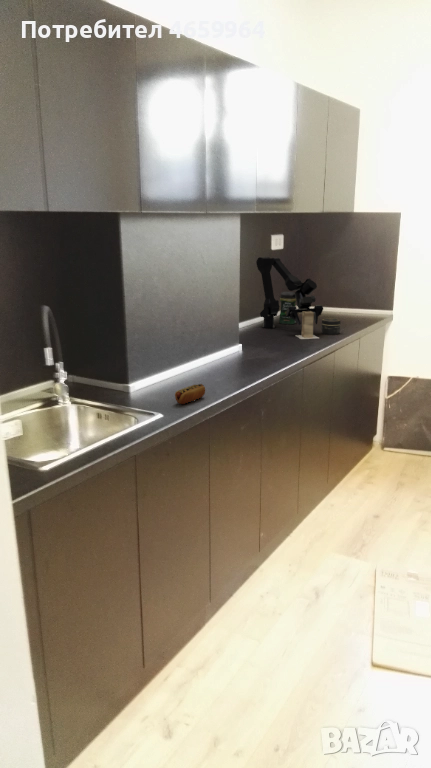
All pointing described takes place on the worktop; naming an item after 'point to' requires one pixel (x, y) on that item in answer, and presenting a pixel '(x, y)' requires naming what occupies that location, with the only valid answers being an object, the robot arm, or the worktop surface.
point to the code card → (306, 338)
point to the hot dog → (190, 393)
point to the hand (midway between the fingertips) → (308, 324)
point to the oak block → (307, 324)
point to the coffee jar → (286, 307)
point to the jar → (330, 326)
